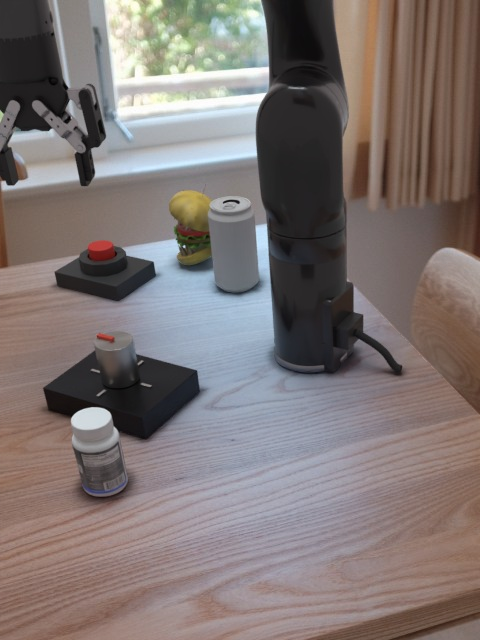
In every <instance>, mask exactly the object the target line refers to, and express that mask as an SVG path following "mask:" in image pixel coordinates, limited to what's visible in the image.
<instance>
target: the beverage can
mask: <svg viewBox="0 0 480 640" xmlns="http://www.w3.org/2000/svg"><path fill="white" fill-rule="evenodd" d="M208 222H209V231H210V241H211V250H212V256H211V260H212V268H213V277H214V283H215V285H216V286H217V287H219V288H221V289H222V291H224V292H228V293H234V294H235V293H245V292H247V291H249V290H251V289H253V288H254V287H255V286H256V285H257V284H258V283H259V281H260V271H259V270H260V269H259V257H258V244H257V230H256V229H257V228H256V214H255V210H254V209H253V207H252V202H251V201H250V199H249V198H246V197H243V196H238V195H229V196H228V195H227V196H221V197H218V198H215V199H212V202H211V203H210V210H209V212H208Z"/></svg>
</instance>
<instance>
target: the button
mask: <svg viewBox="0 0 480 640" xmlns="http://www.w3.org/2000/svg"><path fill="white" fill-rule="evenodd" d="M114 246H115V245H114V243H113V242H112V241H111V240H107V239H105V240H104V239H102V240H101V239H100V240H95V241H92V242H90V243H89V244H88V245H87V249H88V252H89V257H90V259H91V260H93V261H106V260H109V259H112V258H114V257H115V251H114Z"/></svg>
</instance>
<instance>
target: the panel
mask: <svg viewBox="0 0 480 640" xmlns="http://www.w3.org/2000/svg"><path fill="white" fill-rule="evenodd" d="M136 357H137V362H138V368H139V374H140V378H139V380H138V381H137V382H136V383H135V384H133V385H131V386H129V387H125V388H110V387H107V386H105V385H104V384H103V383H102V380H101V375H100V371H99V366H98V361H97V356H96V352H95V350H93V351H92V352H91V353H89V354H88V355H86V356H85V357H84V358H82V359H81V360H80V361H78V362H77V363H75V364H74V365H72V366H71V367H69V368H68V369H67V370H66V371H63V373H61V374H60V375H59V376H57V377H56V378H54V379H53V380H51V381H50V382H49V383H48V384H46V385H45V386H43V387H42V391H43V394H44V398H45V402H46V405H47V406H46V407H47V410H48V411H52V412H55V413H58V414H62V415H66V416H68V417H71V418H72V416H73V415H74V414H75V413H77V412H78V411H80V410H83V409H86V408H91V407H98V408H103V409H106V410H107V411H109V412H110V414H111V416H112V421H113V426H114V427H115V428H116V429H117V431H118V432H119V433H120V432H121V433H124V434H126V435H130V436H134V437H137V438H140V439H143V440H147V439H148V438H150V437H151V436H152V435H153V434H154V433H155V432H156V431H157V430H159V429H160V428H161V427H162V426H163V425H164V424H165V423H166V422H167V421H169V420H170V418H172V417H173V416H174V415H176V414H177V413H178V412H179V411H180V410H181V409H182V408H184V407H185V406H186V405H187V404H188V403H189V402H190V401H191V400H193V399H194V398H195V397H196V396H197V395H198V394H199V393H200V392H201V390H200V389H201V388H200V380H199V372H198V369H194V368H190V367H186V366H182V365H179V364H175V363H172V362H167V361H164V360H160V359H157V358H153V357H149V356H145V355H141V354H138V353H136Z"/></svg>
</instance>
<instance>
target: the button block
mask: <svg viewBox="0 0 480 640" xmlns="http://www.w3.org/2000/svg"><path fill="white" fill-rule="evenodd" d="M114 251H115V257H114V258H112V259H109V260H106V261H93V260H91V259H90V257H89V252H88V248H87V249H84V250H83V251H82V252H80V253H79V255H78V257H77V258H75V259H73V260H71V261H70V262H68V263H67V264H65V265H63V266H61V267H60V268H58V269H57V270H55V271H54V277H55V281H56V286H57V287H60V288H64V289H68V290H74V291H78V292H81V293H86V294H90V295H93V296H98V297H101V298H106V299H109V300H114V301H118V302H119V301H120V300H122V299H124V298H125V297H126V296H128V295H130V293H132V292H134V291H136V290H137V289H138V288H140V287H141V286H142V285H144V284H145V283H146V282H149V281H150V280H151V279H153V278H154V277H156V275H157V274H156V266H155V262H154V261H153V260H148V259H145V258H139V257H136V256H130V255H127V252H126V250H125V249H123V247H121V246H116V245H114Z"/></svg>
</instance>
